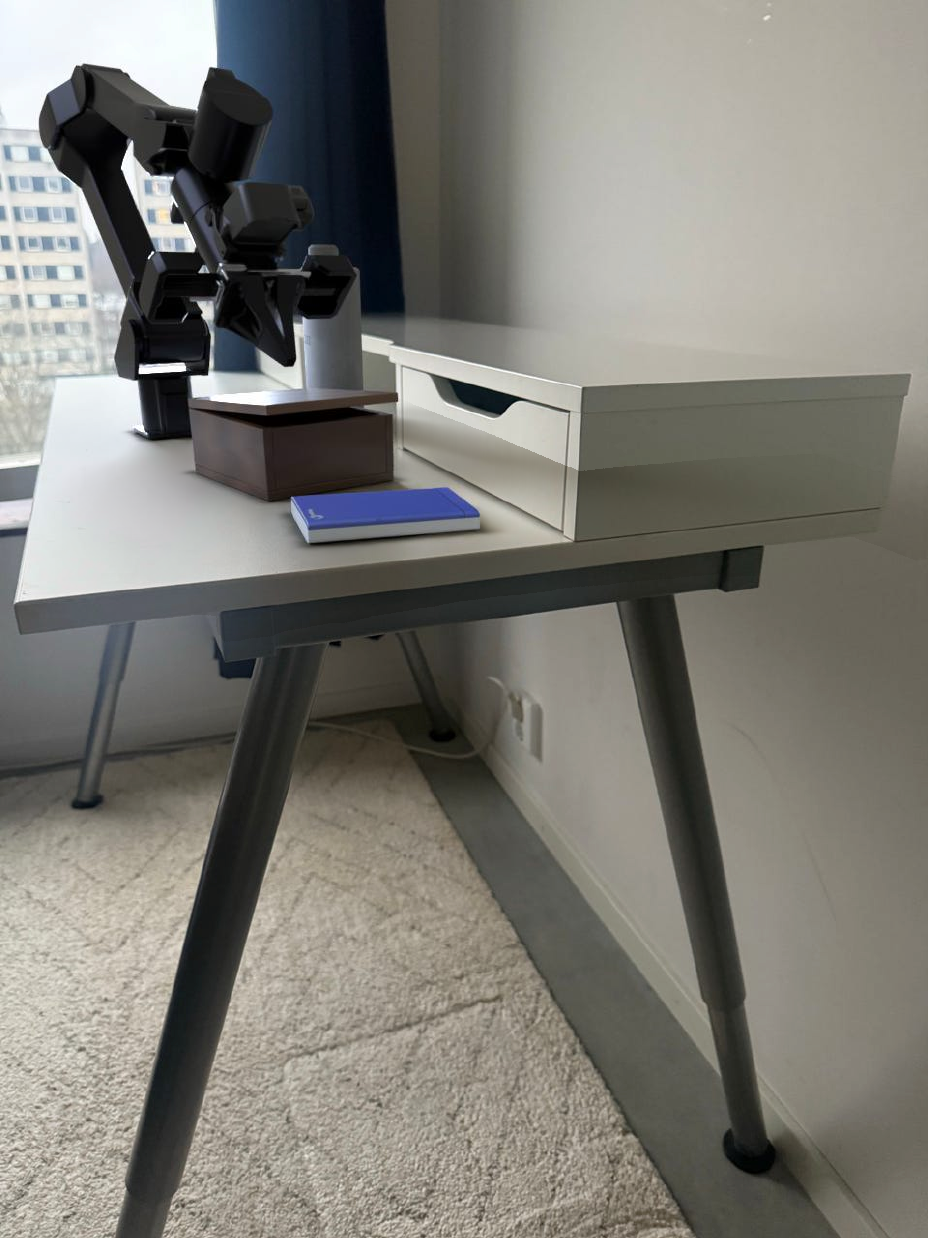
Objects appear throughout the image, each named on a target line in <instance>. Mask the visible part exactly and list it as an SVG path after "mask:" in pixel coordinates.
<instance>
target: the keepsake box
mask: <svg viewBox="0 0 928 1238" xmlns="http://www.w3.org/2000/svg"><path fill="white" fill-rule="evenodd" d="M189 413H190V422H191V432H192V435H191V439H192V449H193V459H194V467H195V473H197V474H199V475H203V476H205V477H207V478H209V479H212V480H215V481H216V482H219V483H222V484H225V485H226V486H230V487H232V488H235V489H236V490H239V491H242V492H244V493H246V494H249V495H252V496H254V497H257V498H259V499H261V500H264V501H266V502H274V501H277V500H278V501H279V500H284V499H291V497H297V496H310V495H315V494H319V493H326V492H331V491H336V490H343V489H347V488H348V489H349V488H354V487H361V486H367V485H371V484H378V483H383V482H389V481H393V480H395V462H394V458H395V456H394V414H392V413H388V412H384V411H378V410H374V409H369V408H365V407H364V408H360V407H356V406H354V407H345V408H335V409H326V410H316V411H307V412H297V413H287V414H278V415H268V416H266V415H257V414H247V413H238V412H228V411H219V410H209V409H200V408H189Z"/></svg>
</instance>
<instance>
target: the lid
mask: <svg viewBox="0 0 928 1238" xmlns="http://www.w3.org/2000/svg"><path fill="white" fill-rule="evenodd" d="M391 403H399V392H396V391H379V390H378V391H377V390H363V391H361V390H342V389H323V388H307V387H303V388H292V389H281V390H279V389H278V390H269V391H268V390H267V391H258V392H247V393H246V392H245V393H233V394H223V395H209V396H199V397H193V398H188V404H189V407H190V408H200V409H209V410H219V411H228V412H238V413H247V414H257V415H266V416H268V415H278V414H287V413H297V412H307V411H316V410H326V409H335V408H345V407H354V406H364V407H365V406H372V405H381V404H382V405H383V404H391Z"/></svg>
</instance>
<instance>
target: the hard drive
mask: <svg viewBox="0 0 928 1238" xmlns="http://www.w3.org/2000/svg"><path fill="white" fill-rule="evenodd" d="M290 509H291V510H290V511H291V515H292V518H293V520H294V521H295V523H296V525H297V526H298V528H299V530H300V532H301V535H302V536H303V538H304V539H305V541H306V543H307V544H318V543H328V542H340V541H353V540H363V539H375V538H376V539H377V538H388V537H400V536H411V535H423V534H435V533H436V534H437V533H448V532H460V531H473V530H479V529H481V513H480V511H479V510H478V508H476V507H475V506H473V505H472V504H471V503H469V502H468V501H467V500H466V499H464V498H463V497H462V496H460V495H459V494H458V493H456V492H455V491H454V490H452V489H451V488H450V487H448V486H444V487H433V488H416V489H413V488H412V489H399V490H398V489H396V490H381V491H364V492H347V493H346V492H345V493H331V494H330V493H329V494H316V495H315V494H311V495H303V496H297V497H291V498H290Z"/></svg>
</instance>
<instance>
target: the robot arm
mask: <svg viewBox="0 0 928 1238" xmlns="http://www.w3.org/2000/svg"><path fill="white" fill-rule="evenodd" d="M200 92H201V93H200V96H199V100H198V104H197V108H196V109H195V108H194V109H193V108H188V107H187V108H186V107H182V106H176V105H171V104H168V103H167V102H166V101H164V100H163V99H161V98H160V97H159V96H157V95H155V94H154V93H153V92H151V91H150V90H148V89H147V88H145V87H144V86H142V85H141V84H139V83H138V82H136V81H135V80H133V79H132V78H131V76H130V74H129V73H128V72H125V71H123V70H122V69H121V68H117V67H112V66H111V67H110V66H103V65H98V64H91V63H82V64H80V65H78V64H76V65H75V67H74V68H73V71H72V73H71V76H70V78H69V79H67V80H66V81H64V82H62V83H61V84H60V85H58V86H56V87H55V88H53V89H52V90H50V91H48V92H47V94H46V96H45V99H44V101H43V103H42V107H41V109H40V112H39V117H38V133H39V137H40V141H41V144H42V146H43V148H44V149H46V150H47V152H48V154H49V156H50V158H51V160H52V162H53V164H54V166H55V168H56V170H57V171H58V172H59V173H60V174H61V175H62V176H63V177H65V178H66V179H68V180H69V181H70V182H72V183H73V184H74V185H76V186H77V187H78V188H79V189H81V191H82V194H83V196H84V198H85V201H86V203H87V205H88V208H89V211H90V213H91V216H92V218H93V220H94V223H95V226H96V228H97V230H98V233H99V236H100V238H101V241H102V243H103V245H104V247H105V251H106V252H107V255H108V257H109V260H110V262H111V265H112V267H113V269H114V273H115V274H116V278H117V280H118V282H119V284H120V286H121V289H122V292H123V295H124V297H125V304H124V307H123V311H122V314H121V318H120V322H119V325H120V332H119V335H118V339H117V343H116V347H115V352H114V355H113V360H114V364H115V368H116V370H117V376H118V377H119V378H122V379H125V380H129V381H133V382H136V384H137V385H136V386H137V391H138V399H139V408H140V415H141V423H142V425H133V431H134V432H136V433H138V434H140V435H142V436H143V437H145V438H147V439H151V440H153V439H161V438H164V439H165V438H171V437H184V436H192V432H191V422H190V413H189V408H190V407H189V404H188V398H194V393H193V392H194V391H193V383H192V377H197V376H201V377H208V376H209V369H210V361H211V360H210V359H211V347H212V346H211V344H212V343H211V342H212V334H211V332H210V328H209V325H208V323H207V321H206V319H204V317H203V314H204V311H203V310H202V308H201V307H200V305H199V303H198V302H212V303H213V304H214V307H215V309H216V312H215V315H214V317H213V323H212V324H213V325H214V326H215V327H216V328H217V329H220V330H222V329H224V330H226V331H228V332H230V333H232V334H233V335H235V336H236V337H238V338H240V339H242V340H244V341H245V342H246V343H248V344H250V345H251V346H253V347H255V348H257V350H259V351H260V352H262V353H264V354H265V355H266V356H268V357H269V358H271V359H272V360H273V361H275V362H276V363H278V364H279V365H281V366H282V367H284V368H293V367H294V366H295V365H296V364H295V363H296V362H297V349H296V337H295V325H294V314H295V312H296V314H297V315H299V316H300V317H304V318H306V319H307V320H309V319H331V318H333V317H334V316H336V315H337V314H338V313H339V311H340V309H341V307H342V305H343V303H344V301H345V299H346V297H347V295H348V293H349V291H350V289H351V287H352V285H353V283H354V281H355V279H356V277H357V275H356V273H355V271H354V269H353V268H354V267H353V265H352V264H351V261H350V260H349V258H348V256H347V255H309V254H306V256H305V258H304V261H303V263H302V265H301V268H280V267H279V265H278V264H279V262H283V261H285V259H286V256H287V254H288V251H289V250H288V248H287V247H286V244H285V241H286V240H287V239H288V238H289V236H290V235H291V234H292V233H293V232H303V231H305V229H306V228H307V227H308V226H309V225H310V224H311V223H312V222H313V220H314V218H315V217H314V216H315V211H314V207H313V204H312V201H311V199H310V196H309V195H308V193H307V192H306V190H305V189H304V187H302V185H292V184H281V183H272V182H260V181H259V182H257V181H248V182H244V181H246V180H252V179H253V177H254V173H255V171H256V169H257V165H258V162H259V159H260V156H261V153H262V151H263V147H264V144H265V142H266V138H267V135H268V133H269V131H270V130H269V129H270V126H271V123H272V121H273V117H274V108H273V106H272V104H271V102H270V100H269V98H267V97H266V96H263V94H261V93H260V92H259V91H258V90H257V89H256V88H254V87H252V86H251V85H249V84H248V83H247V82H244V81H242V80H240V79H237V78H236V76H235V73H234V72H233V71H232V70H231V69H227V68H221V67H220V68H219V67H214V66H210V67H208V70H207V74H206V78H205V80H204V82H203V85H202V88H201V91H200ZM131 143H132V144H133V145H132V146H133V151H132V152H133V155H132V156H133V157H134V158H135V159H136V161H137V162H138V164H140V166H141V167H142V168H143V170H144V171H145V172H146V173H147V175H149V176H150V177H152V178H161V179H172V181H171V184H170V195H171V198H172V202H171V207H170V210H169V216H170V217H169V218H170V222H171V224H173V225H185V227H186V229H187V230H188V232H189V233H188V234H190V237H191V239H192V241H193V243H194V245H195V247H194V251H164V250H163V251H162V250H161V251H157V250H156V247H155V244H154V241H153V239H152V238H151V235H150V233H149V231H148V227H147V225H146V223H145V220H144V218H143V216H142V214H141V211H140V209H139V206H138V204H137V201H136V199H135V197H134V195H133V192H132V189H131V188H130V185H129V183H128V180H127V178H126V176H125V174H124V170H123V168H124V166H125V165H124V164H125V160H126V157H127V153H128V149H129V147H130V145H131ZM237 182H243V183H240V185H237V184H236V183H237ZM203 267H206V270H207V272H200V271H201V270H202V268H203ZM180 364H184V366H168V367H151V368H140V366H143V367H146V366H163V365H164V366H165V365H180Z"/></svg>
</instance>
